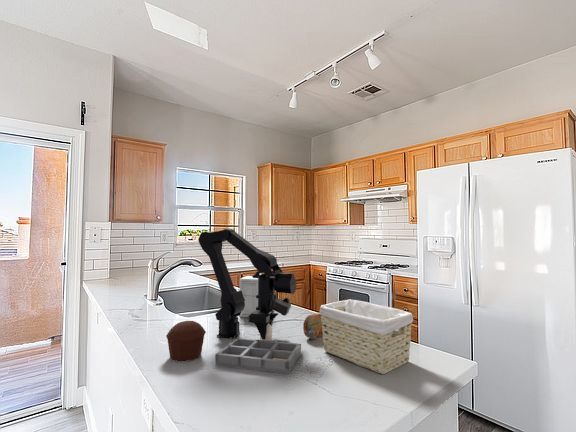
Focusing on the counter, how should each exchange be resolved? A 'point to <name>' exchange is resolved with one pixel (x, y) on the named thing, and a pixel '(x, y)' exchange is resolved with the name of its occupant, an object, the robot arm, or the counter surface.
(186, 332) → the muffin
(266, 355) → the grey compartment tray
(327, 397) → the counter surface
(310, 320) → the tin
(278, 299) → the robot arm
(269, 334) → the egg
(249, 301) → the supplement box
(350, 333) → the storage basket
